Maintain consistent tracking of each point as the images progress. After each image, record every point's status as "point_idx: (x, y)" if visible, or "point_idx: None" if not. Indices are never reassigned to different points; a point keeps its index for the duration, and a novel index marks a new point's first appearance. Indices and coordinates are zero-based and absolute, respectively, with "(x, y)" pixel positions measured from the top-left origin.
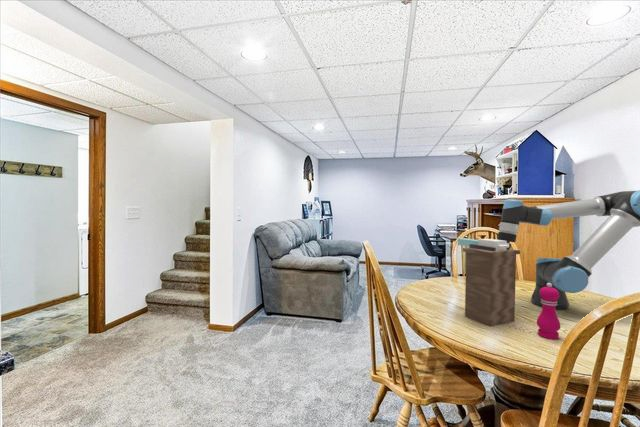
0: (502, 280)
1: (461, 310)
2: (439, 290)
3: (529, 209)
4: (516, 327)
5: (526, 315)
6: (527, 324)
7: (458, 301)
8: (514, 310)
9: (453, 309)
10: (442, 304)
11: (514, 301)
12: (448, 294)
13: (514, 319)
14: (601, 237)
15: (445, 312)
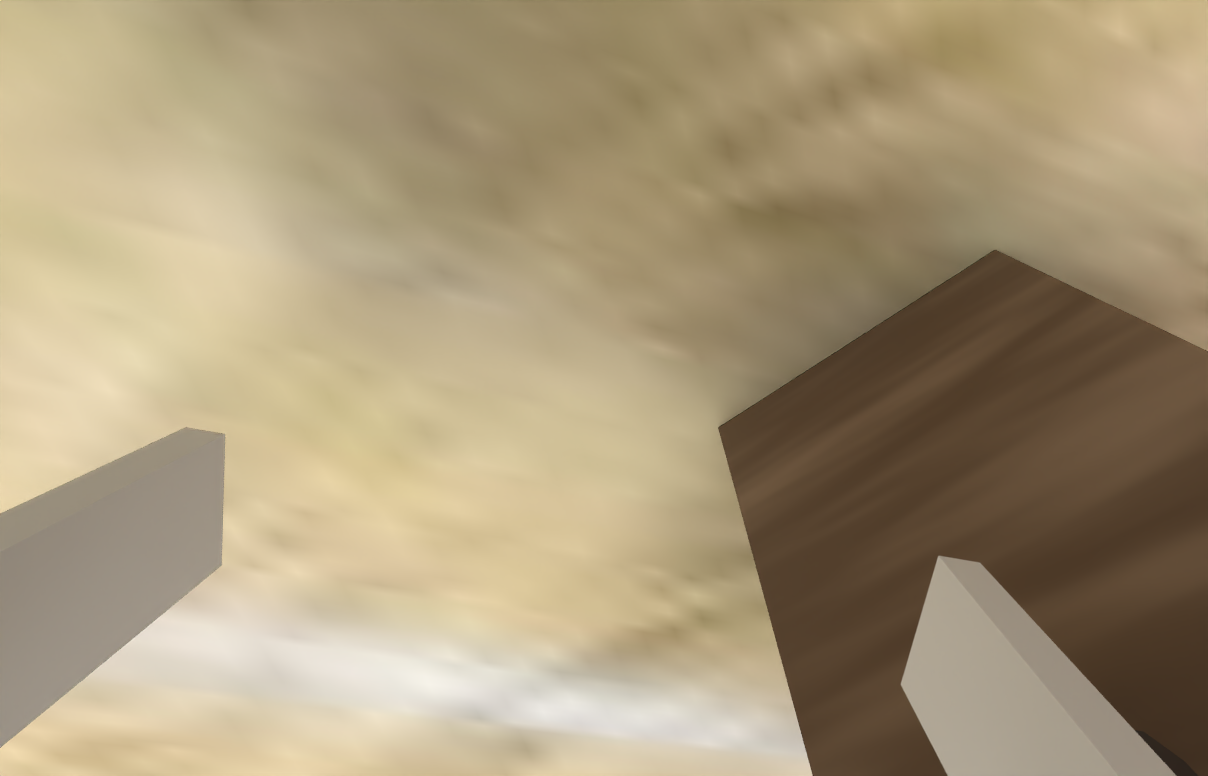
0: None
1: (720, 656)
2: (52, 738)
3: None
4: (1188, 291)
5: (752, 17)
6: (1095, 134)
7: (412, 635)
8: (1069, 288)
9: (705, 709)
10: (573, 766)
11: (1152, 332)
12: (174, 683)
13: (1005, 255)
14: None
15: (808, 772)
